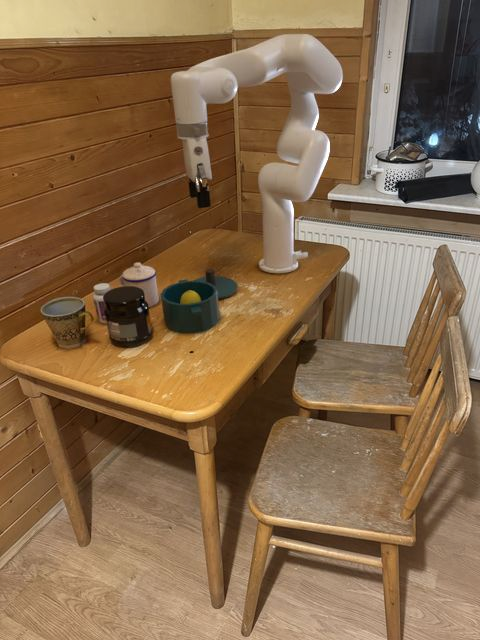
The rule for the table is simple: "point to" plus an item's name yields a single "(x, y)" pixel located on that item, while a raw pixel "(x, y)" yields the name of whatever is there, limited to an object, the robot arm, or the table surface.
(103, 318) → the pill bottle
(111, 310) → the supplement container
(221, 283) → the cooker lid
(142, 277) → the teacup with lid
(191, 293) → the lemon
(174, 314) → the cooker
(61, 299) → the ceramic cup
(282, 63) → the robot arm
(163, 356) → the table surface
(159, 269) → the table surface
